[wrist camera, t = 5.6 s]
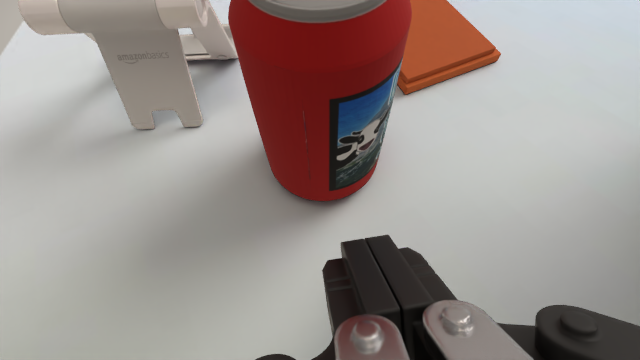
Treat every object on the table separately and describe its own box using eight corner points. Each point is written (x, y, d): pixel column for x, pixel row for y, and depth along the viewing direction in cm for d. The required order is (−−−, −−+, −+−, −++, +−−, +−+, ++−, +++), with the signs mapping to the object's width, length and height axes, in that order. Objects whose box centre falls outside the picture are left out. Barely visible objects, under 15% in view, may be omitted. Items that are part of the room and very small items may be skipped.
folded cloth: (418, -16, 30) (421, -30, 29) (497, 61, 25) (504, 48, 24) (338, 8, 29) (338, -6, 28) (405, 95, 24) (408, 82, 23)
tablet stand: (240, 46, 27) (207, -74, 19) (232, 125, 23) (187, 12, 16) (132, 52, 27) (57, -67, 19) (105, 132, 23) (1, 21, 16)
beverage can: (375, 212, 19) (430, 32, 9) (260, 202, 20) (186, 20, 9) (377, 121, 23) (420, -90, 12) (279, 114, 23) (239, -94, 13)
